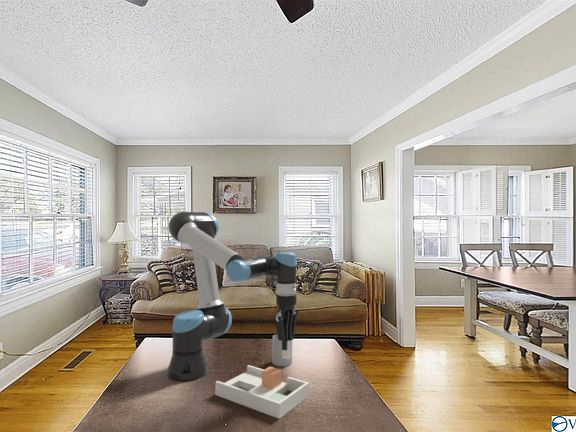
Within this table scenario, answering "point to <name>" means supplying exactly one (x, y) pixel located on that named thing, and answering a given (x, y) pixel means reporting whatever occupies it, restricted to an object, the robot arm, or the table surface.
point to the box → (263, 392)
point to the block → (271, 377)
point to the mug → (279, 353)
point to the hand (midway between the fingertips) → (286, 357)
